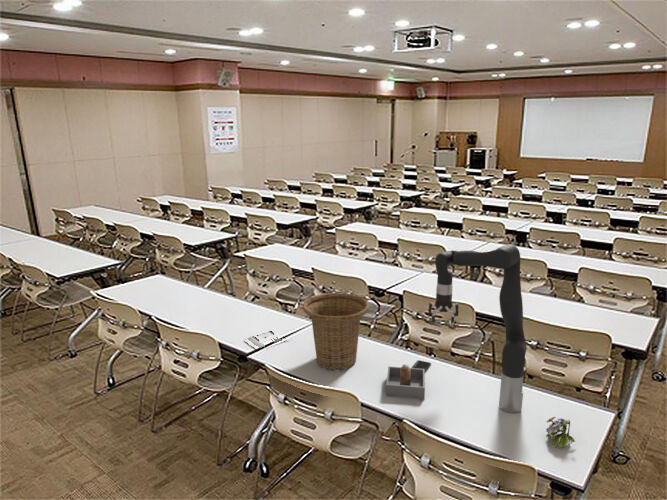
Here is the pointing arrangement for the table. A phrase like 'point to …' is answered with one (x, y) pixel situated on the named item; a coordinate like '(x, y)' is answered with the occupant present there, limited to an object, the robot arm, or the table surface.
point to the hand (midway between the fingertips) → (442, 322)
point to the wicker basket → (336, 327)
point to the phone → (422, 365)
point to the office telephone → (261, 343)
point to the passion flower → (556, 428)
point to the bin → (404, 391)
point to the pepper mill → (405, 375)
